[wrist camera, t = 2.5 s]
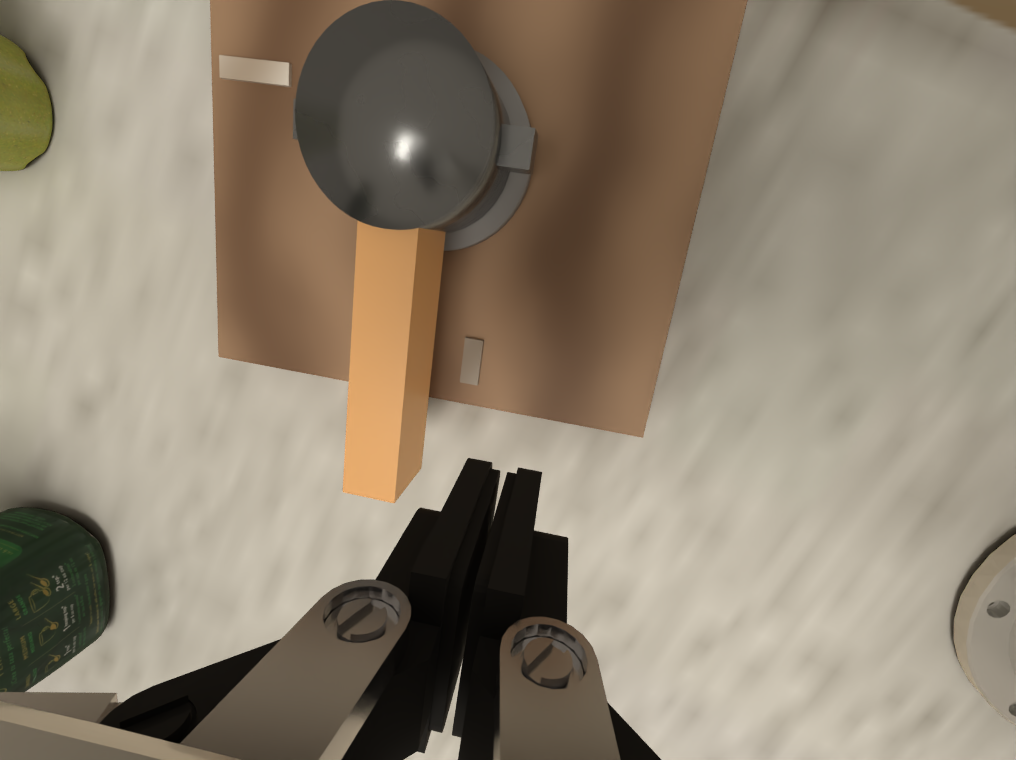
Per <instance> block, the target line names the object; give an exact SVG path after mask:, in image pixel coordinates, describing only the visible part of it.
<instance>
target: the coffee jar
mask: <svg viewBox="0 0 1016 760" xmlns="http://www.w3.org/2000/svg"><path fill="white" fill-rule="evenodd" d="M109 596H110V595H109V582H108V574H107V567H106V562H105V557H104V553H103V550H102V547H101V545H100V543H99V542H98V540H97V539H96V538H95V537H94V536H93V535H91V534H90V533H89V532H88V531H86V530H85V529H84V528H83V527H82V526H80V525H79V524H77V523H75V522H74V521H73V520H72V519H70V518H68V517H66V516H64V515H62V514H58V513H56V512H53V511H48V510H44V509H38V508H25V507H19V508H12V509H8V510H5V511H3V512H1V513H0V692H26V691H27V690H28V689H30V688H31V687H33V686H34V685H36V684H37V683H38V682H40V681H41V680H43V679H44V678H46V677H47V676H48V675H50V674H51V673H53V672H54V671H56V670H57V669H58V668H60V667H61V666H62V665H64V664H65V663H66V662H68V661H69V660H71V659H72V658H73V657H75V656H76V655H77V654H79V653H80V652H81V651H83V650H84V649H85V648H86V647H88V646H89V645H90V644H92V643H93V642H94V641H96V640H97V639H98V638H99V637H100V636H101V635H102V633H103V632H104V630H105V628H106V625H107V622H108V617H109V600H110V597H109Z"/></svg>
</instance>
